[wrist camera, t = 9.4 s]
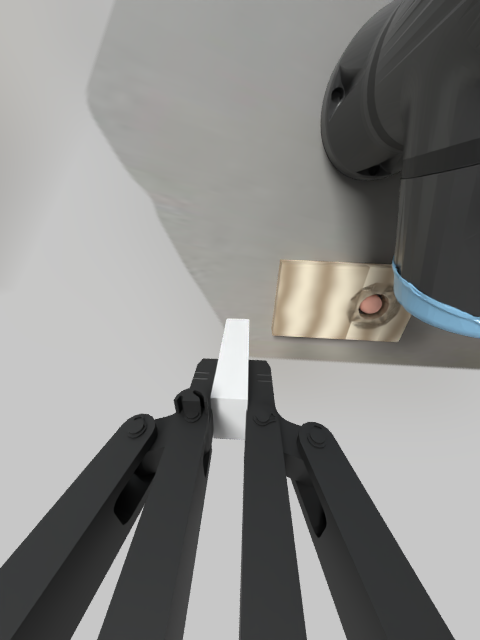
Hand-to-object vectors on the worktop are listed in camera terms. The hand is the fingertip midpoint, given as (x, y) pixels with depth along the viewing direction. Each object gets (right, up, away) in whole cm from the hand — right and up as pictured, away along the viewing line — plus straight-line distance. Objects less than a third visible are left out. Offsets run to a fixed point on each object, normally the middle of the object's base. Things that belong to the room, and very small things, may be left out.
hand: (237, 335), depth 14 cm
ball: (+23, +4, +23) cm, 33 cm away
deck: (+19, +5, +24) cm, 31 cm away
